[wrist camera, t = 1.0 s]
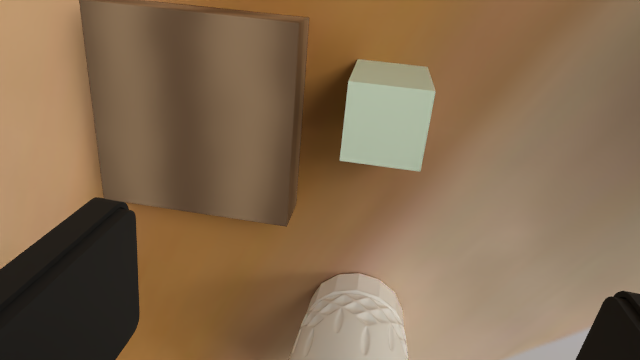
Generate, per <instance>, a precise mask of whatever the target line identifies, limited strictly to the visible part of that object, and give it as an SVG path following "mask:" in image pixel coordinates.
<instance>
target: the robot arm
mask: <svg viewBox="0 0 640 360" xmlns="http://www.w3.org/2000/svg"><path fill="white" fill-rule="evenodd" d="M138 321H139V290H138V264H137V238H136V217H135V213H134V212H133V211H131V210H129V209H128V206H127V204H126V203H125V202H121V201H115V200H110V199H104V198H96V197H95V198H93V199H92V200H90V201H89V202H88V203H86V204H85V205H84V206H82V207H81V208H80V209H79V210H77V211H76V212H75V213H73V214H72V215H71V216H69V217H68V218H67V219H65V220H64V221H63V222H62V223H60V224H59V225H58V226H56V227H55V228H54V229H52V230H51V231H50V232H49V233H47V234H46V235H45V236H43V237H42V238H41V239H39V240H38V241H37V242H36V243H34V244H33V245H32V246H30V247H29V248H28V249H26V250H25V251H24V252H22V253H21V254H20V255H19V256H17V257H16V258H15V259H13V260H12V261H11V262H9V263H8V264H7V265H6V266H4V267H3V268H2V269H0V360H115V359H116V358H117V357H118V355H119V354H120V352H121V351H122V349H123V348H124V347H125V345H126V344H127V342H128V341H129V339H130V338H131V336H132V335H133V333H134V332H135V330H136V328H137V325H138ZM576 360H640V294H637V293H631V292H626V291H620V292H618V293H616V294H615V295H614V297H608V298H606V299H605V301H604V302H603V304H602V306H601V308H600V310H599V312H598V314H597V316H596V319H595V321H594V323H593V325H592V327H591V329H590V331H589V333H588V335H587V337H586V339H585V341H584V344H583V346H582V348H581V350H580V352H579V354H578V356H577V358H576Z"/></svg>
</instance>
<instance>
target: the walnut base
mask: <svg viewBox="0 0 640 360" xmlns="http://www.w3.org/2000/svg"><path fill="white" fill-rule="evenodd" d="M79 3H80V11H81V19H82V27H83V35H84V43H85V51H86V59H87V67H88V75H89V83H90V91H91V99H92V107H93V115H94V123H95V131H96V139H97V147H98V155H99V163H100V171H101V179H102V187H103V195H104V199H110V200H115V201H121V202H128V203H134V204H141V205H147V206H154V207H161V208H167V209H174V210H181V211H187V212H194V213H201V214H207V215H214V216H220V217H227V218H234V219H240V220H247V221H254V222H260V223H267V224H274V225H280V226H287V225H288V222H289V220H290V218H291V215H292V213H293V211H294V209H295V206H296V201H297V186H298V172H299V158H300V144H301V129H302V115H303V101H304V86H305V72H306V58H307V44H308V29H309V18H308V17H298V16H289V15H279V14H269V13H260V12H250V11H240V10H231V9H221V8H212V7H202V6H192V5H183V4H173V3H163V2H154V1H144V0H79Z"/></svg>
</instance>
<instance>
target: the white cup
mask: <svg viewBox="0 0 640 360" xmlns="http://www.w3.org/2000/svg"><path fill="white" fill-rule="evenodd" d="M289 360H409V359H408V352H407V341H406V336H405V331H404V322H403V309H402V307H401V305H400V302H399V300H398V298H397V295H396V293H395V292H394V291H393V290H392V289H390V288H389V287H388V286H387V285H386V284H384V283H383V282H382V281H381V280H380V279H377V278H373V277H370V276H367V275H364V274H361V273H352V274H339V275H336V276H334V277H333V278H331V279H329V280H327V281H325V282H323V283H321V285H320V286H319V288H318V289H317V291H316V292H315V293H314V295H313V296H312V298H311V301H310V304H309V307H308V310H307V313H306V315H305V317H304V319H303V322H302V324H301V326H300V329H299V333H298V335H297V337H296V340H295V343H294V345H293V348H292V351H291V354H290V357H289Z"/></svg>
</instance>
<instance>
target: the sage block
mask: <svg viewBox="0 0 640 360" xmlns="http://www.w3.org/2000/svg"><path fill="white" fill-rule="evenodd" d="M435 92H436V91H435V88H434V85H433V82H432V79H431V76H430V73H429V70H428V67H424V66H415V65H406V64H397V63H388V62H379V61H370V60H361V59H358V60H357V62H356V65H355V67H354V69H353V71H352V74H351V76H350V78H349V81H348V89H347V98H346V107H345V116H344V125H343V134H342V143H341V152H340V161H345V162H353V163H360V164H368V165H375V166H383V167H390V168H397V169H405V170H412V171H421V166H422V160H423V155H424V150H425V145H426V139H427V134H428V129H429V124H430V118H431V113H432V108H433V103H434V97H435Z"/></svg>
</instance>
